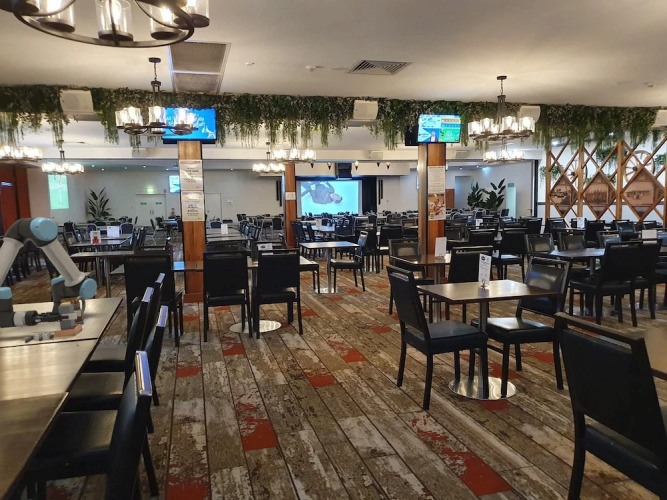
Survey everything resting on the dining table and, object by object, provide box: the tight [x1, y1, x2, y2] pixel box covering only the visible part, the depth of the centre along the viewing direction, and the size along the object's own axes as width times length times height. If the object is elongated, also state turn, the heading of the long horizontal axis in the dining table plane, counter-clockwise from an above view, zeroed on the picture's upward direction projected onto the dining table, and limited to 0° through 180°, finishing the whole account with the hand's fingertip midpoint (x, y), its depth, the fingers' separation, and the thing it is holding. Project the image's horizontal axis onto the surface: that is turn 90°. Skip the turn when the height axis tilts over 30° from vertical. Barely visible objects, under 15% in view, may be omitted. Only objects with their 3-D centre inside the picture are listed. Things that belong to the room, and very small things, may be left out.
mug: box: [61, 297, 87, 325], centre depth 257 cm, size 16×11×15 cm
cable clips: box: [34, 332, 51, 342], centre depth 231 cm, size 4×6×2 cm
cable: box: [24, 335, 54, 344], centre depth 230 cm, size 7×11×1 cm
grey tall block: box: [58, 302, 75, 330], centre depth 238 cm, size 5×5×13 cm
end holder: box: [54, 324, 83, 337], centre depth 239 cm, size 10×9×3 cm
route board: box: [17, 327, 85, 343], centre depth 238 cm, size 18×24×1 cm
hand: (78, 314), depth 238 cm, fingers closed on grey tall block, 5 cm apart
